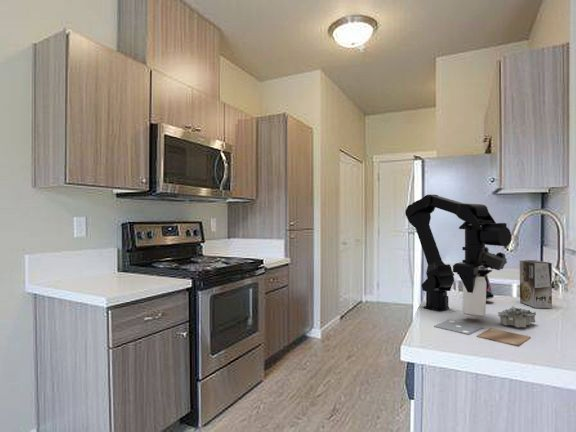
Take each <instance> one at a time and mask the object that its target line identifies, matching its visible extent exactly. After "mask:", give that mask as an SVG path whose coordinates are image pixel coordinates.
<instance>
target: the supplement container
mask: <svg viewBox="0 0 576 432" xmlns="http://www.w3.org/2000/svg"><path fill="white" fill-rule="evenodd" d="M485 280H486V301H487V300H490V299H491V300H492V299H493V298H494V297H495V295H494V292H493V289H492V286H491V283H490V279H489V278H488V274H487V275H486V278H485Z"/></svg>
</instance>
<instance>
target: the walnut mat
mask: <svg viewBox="0 0 576 432" xmlns="http://www.w3.org/2000/svg"><path fill="white" fill-rule="evenodd" d="M476 338H479V339H484V340H488V341H493V342H497V343H501V344H504V345H509V346H514V347H518V348H519V347H520V346H522V345H524V342H525V343H526V342H528V341H529V340H531V338H532V337H531V336H528V335H524V334H519V333H516V332H511V331H506V330H502V329H501V330H500V329H496V328H493V327H492V328H491V327H490V328H488V329H486V330H485V331H482V332H481V333H478V334H477V335H476Z"/></svg>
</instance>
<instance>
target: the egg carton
mask: <svg viewBox="0 0 576 432" xmlns="http://www.w3.org/2000/svg"><path fill="white" fill-rule="evenodd" d="M536 316H537V312H536V311H533V312H532V311H530V309H524V308H520V307H519V308H518V307H515V306H511V307H510V308H508V309H505V310H503V311H498V317H499V319H500V324H501V325H503V326H514V327H515V328H526V327H527V326H530V325H531V323H533V324H534V323H536V318H535V317H536Z"/></svg>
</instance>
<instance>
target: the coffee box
mask: <svg viewBox="0 0 576 432" xmlns="http://www.w3.org/2000/svg"><path fill="white" fill-rule="evenodd" d="M552 264H553V263H552V262H548V261H542V260H537V259H533V260H529V259H528V260H527V259H526V260H519V302H520V303H521V304H524V305H526V306H529V307H532V308H535V309H536V308H537V309H539V308H542V309H551V308H553V306H552V305H553V303H552V302H553V299H552V298H553V296H552V295H553V294H552V292H553V291H552V290H553V287H552V286H553V285H552V283H553V281H552V280H553V277H552V276H553V275H552V274H553V273H552V272H553V267H552Z"/></svg>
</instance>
